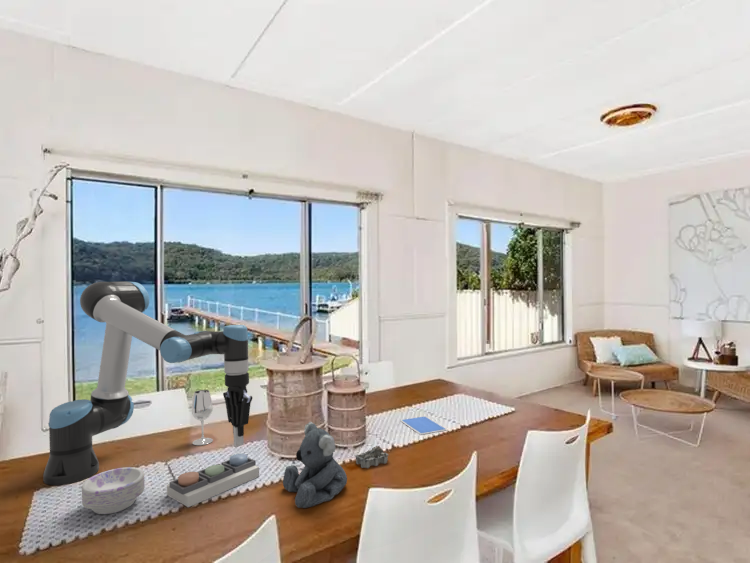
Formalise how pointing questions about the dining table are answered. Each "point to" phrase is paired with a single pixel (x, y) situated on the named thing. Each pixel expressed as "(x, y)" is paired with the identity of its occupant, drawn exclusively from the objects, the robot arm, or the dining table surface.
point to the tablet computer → (423, 425)
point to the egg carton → (372, 457)
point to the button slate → (238, 459)
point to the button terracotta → (188, 478)
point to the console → (213, 483)
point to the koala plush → (315, 469)
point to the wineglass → (202, 412)
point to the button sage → (214, 470)
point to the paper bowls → (113, 490)
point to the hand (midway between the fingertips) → (238, 445)
